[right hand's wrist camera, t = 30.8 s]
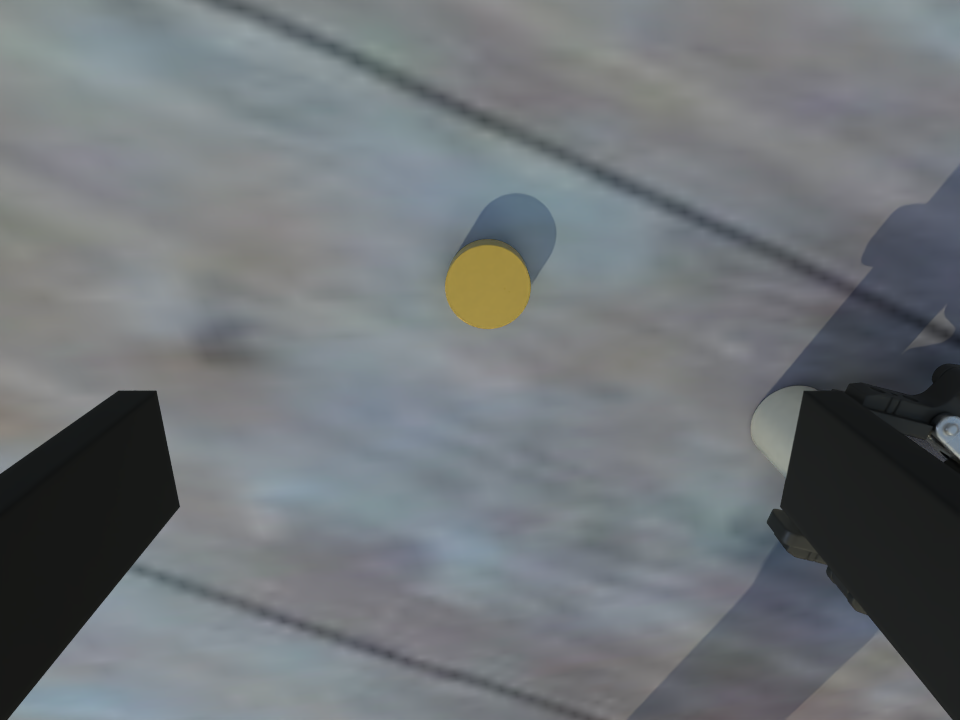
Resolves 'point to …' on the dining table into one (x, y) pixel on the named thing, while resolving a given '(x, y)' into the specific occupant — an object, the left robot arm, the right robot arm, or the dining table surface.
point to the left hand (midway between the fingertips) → (806, 467)
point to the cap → (487, 284)
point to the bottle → (778, 425)
